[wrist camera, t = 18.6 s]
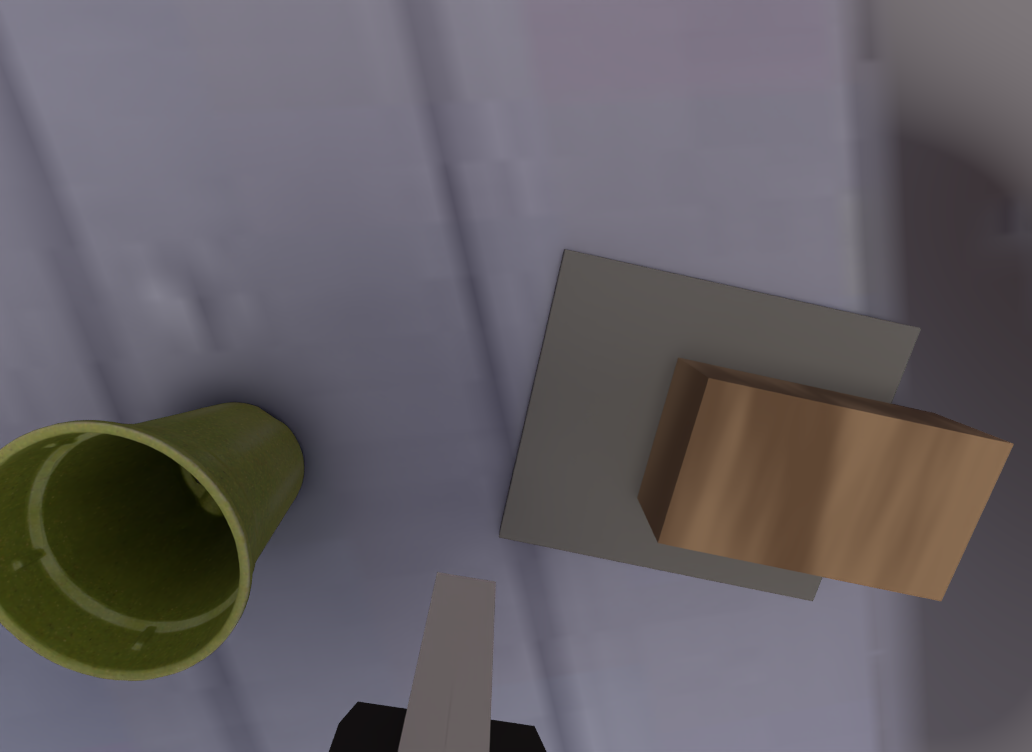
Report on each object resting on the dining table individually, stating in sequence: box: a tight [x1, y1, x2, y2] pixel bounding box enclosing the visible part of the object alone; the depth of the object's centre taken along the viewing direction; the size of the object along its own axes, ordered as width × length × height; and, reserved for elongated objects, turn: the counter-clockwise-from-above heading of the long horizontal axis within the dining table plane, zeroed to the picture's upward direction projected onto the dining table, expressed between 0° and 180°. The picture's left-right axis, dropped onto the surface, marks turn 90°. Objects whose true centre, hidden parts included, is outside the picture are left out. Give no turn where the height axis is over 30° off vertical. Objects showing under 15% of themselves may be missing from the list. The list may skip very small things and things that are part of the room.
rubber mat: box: [499, 249, 921, 601], centre depth 24 cm, size 16×14×1 cm
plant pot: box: [0, 402, 304, 681], centre depth 21 cm, size 9×9×9 cm
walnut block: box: [637, 358, 1013, 601], centre depth 22 cm, size 4×7×12 cm
